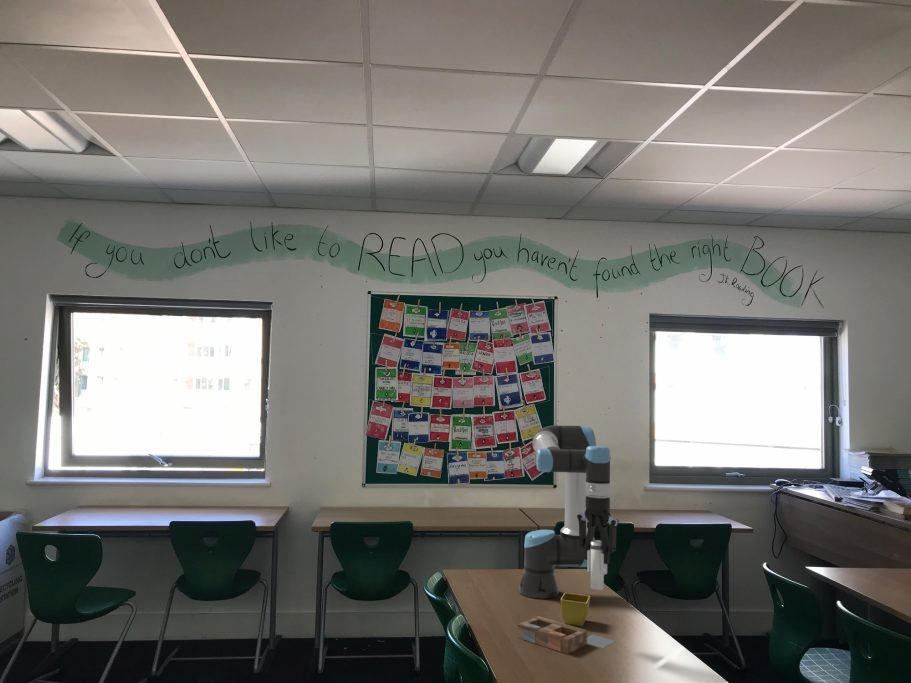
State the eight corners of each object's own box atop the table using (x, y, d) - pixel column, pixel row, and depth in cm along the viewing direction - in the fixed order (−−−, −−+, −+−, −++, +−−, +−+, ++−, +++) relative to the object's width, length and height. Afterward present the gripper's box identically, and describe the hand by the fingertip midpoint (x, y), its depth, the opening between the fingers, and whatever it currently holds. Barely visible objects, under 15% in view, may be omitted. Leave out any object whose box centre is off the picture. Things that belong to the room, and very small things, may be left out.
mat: (592, 637, 206) (592, 634, 206) (615, 644, 201) (615, 641, 201) (579, 644, 200) (579, 640, 200) (602, 651, 195) (602, 648, 195)
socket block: (537, 632, 210) (538, 615, 210) (587, 647, 198) (587, 629, 198) (517, 641, 201) (517, 623, 202) (567, 657, 189) (567, 638, 190)
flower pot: (590, 622, 220) (590, 595, 221) (586, 631, 212) (587, 602, 212) (564, 619, 223) (564, 592, 223) (559, 627, 214) (560, 599, 215)
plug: (594, 585, 205) (594, 539, 206) (606, 587, 202) (606, 541, 203) (587, 587, 202) (588, 541, 203) (599, 590, 199) (599, 543, 200)
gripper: (567, 494, 207) (567, 569, 205) (616, 500, 196) (616, 580, 194) (580, 491, 213) (579, 565, 211) (628, 498, 201) (628, 575, 199)
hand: (597, 572), depth 202 cm, fingers closed on plug, 4 cm apart
